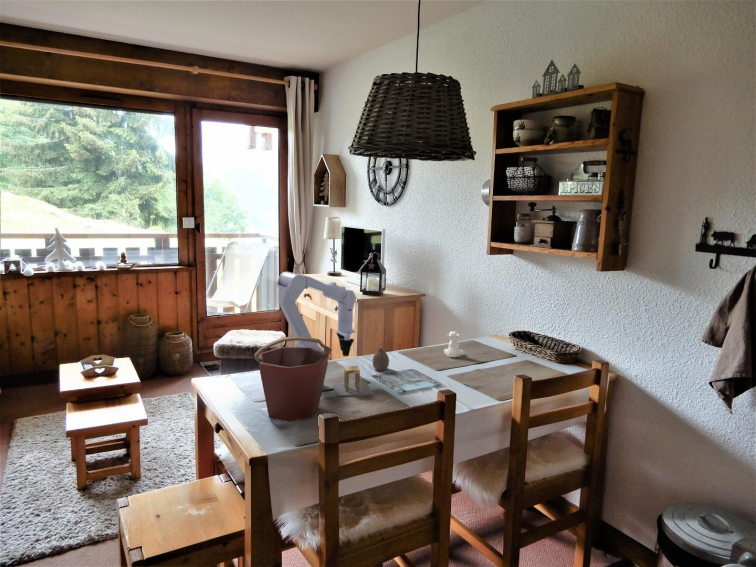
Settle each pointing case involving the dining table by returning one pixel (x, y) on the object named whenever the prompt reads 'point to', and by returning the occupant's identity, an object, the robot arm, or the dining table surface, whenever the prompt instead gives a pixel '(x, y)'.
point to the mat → (352, 390)
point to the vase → (380, 360)
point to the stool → (348, 371)
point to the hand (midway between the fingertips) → (344, 353)
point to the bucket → (292, 378)
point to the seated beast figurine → (453, 345)
